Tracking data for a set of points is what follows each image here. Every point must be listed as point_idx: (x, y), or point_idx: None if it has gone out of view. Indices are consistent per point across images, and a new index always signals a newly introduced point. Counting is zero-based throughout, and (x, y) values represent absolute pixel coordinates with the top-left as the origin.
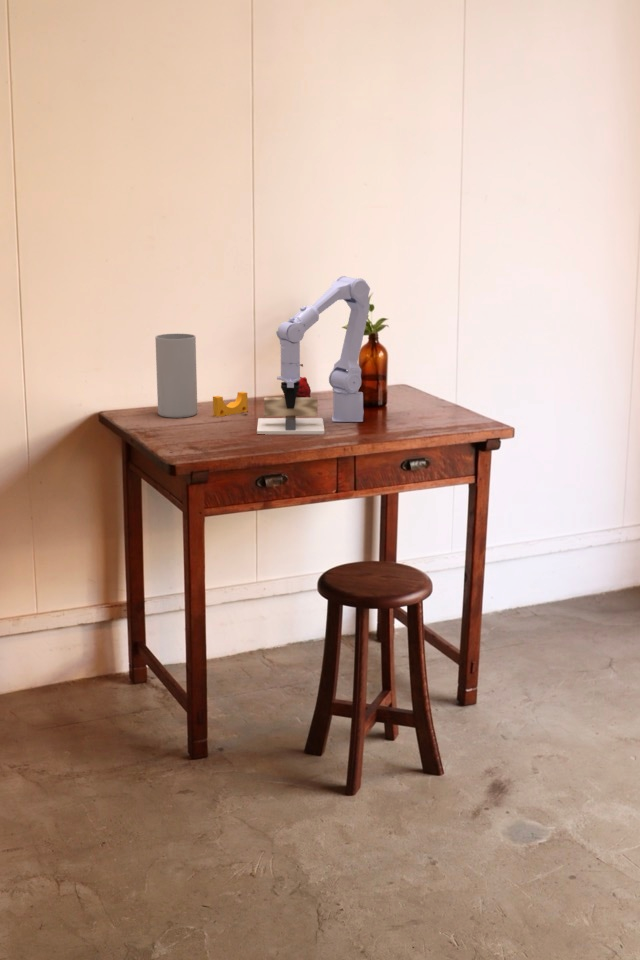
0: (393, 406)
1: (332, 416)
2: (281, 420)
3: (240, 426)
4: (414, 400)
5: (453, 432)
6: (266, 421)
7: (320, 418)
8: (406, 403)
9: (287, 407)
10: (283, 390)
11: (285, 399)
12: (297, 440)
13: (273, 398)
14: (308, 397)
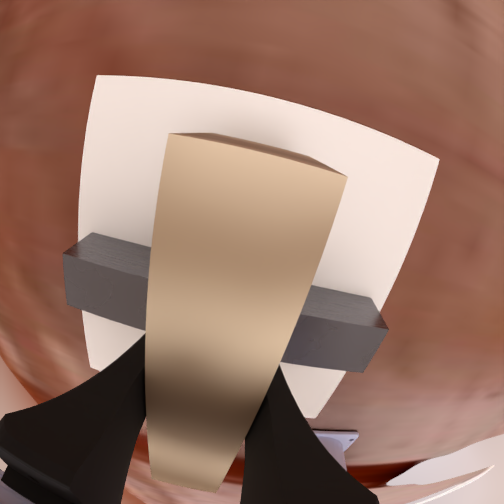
0: (381, 491)
1: (342, 435)
2: (342, 269)
3: (337, 23)
4: (398, 499)
5: (141, 496)
6: (348, 176)
7: (312, 413)
8: (388, 497)
9: (145, 334)
10: (20, 414)
11: (106, 367)
12: (11, 246)
13: (239, 283)
14: (221, 478)
